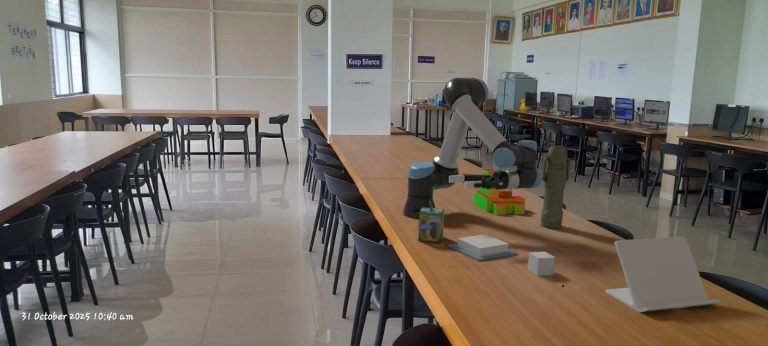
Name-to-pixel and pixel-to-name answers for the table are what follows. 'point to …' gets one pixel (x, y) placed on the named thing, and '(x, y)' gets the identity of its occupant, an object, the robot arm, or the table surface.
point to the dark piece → (554, 186)
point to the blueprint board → (481, 258)
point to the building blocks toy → (499, 200)
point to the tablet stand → (659, 275)
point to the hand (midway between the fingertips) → (457, 182)
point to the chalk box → (431, 224)
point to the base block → (482, 245)
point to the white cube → (541, 263)
